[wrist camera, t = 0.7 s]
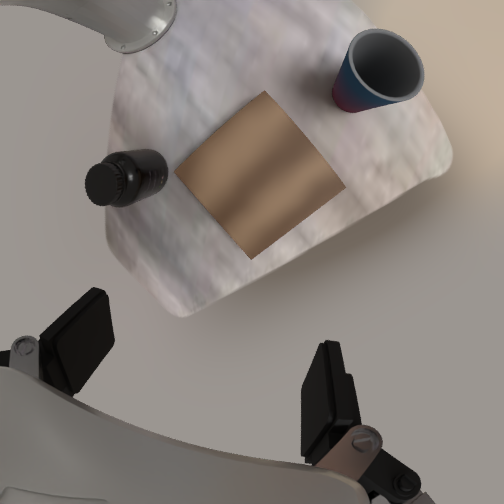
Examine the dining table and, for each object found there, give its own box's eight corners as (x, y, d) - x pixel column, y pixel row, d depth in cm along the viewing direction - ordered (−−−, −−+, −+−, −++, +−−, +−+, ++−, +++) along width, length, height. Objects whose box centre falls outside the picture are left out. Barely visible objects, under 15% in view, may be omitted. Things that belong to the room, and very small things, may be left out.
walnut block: (190, 168, 37) (173, 171, 31) (268, 100, 32) (264, 90, 27) (256, 243, 39) (251, 259, 34) (337, 181, 35) (346, 187, 29)
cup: (343, 127, 32) (379, 114, 18) (315, 84, 30) (331, 43, 16) (384, 107, 30) (437, 86, 16) (357, 64, 28) (394, 20, 14)
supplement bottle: (124, 186, 38) (73, 202, 27) (136, 143, 36) (84, 146, 25) (161, 202, 38) (116, 224, 27) (176, 157, 36) (131, 163, 25)
